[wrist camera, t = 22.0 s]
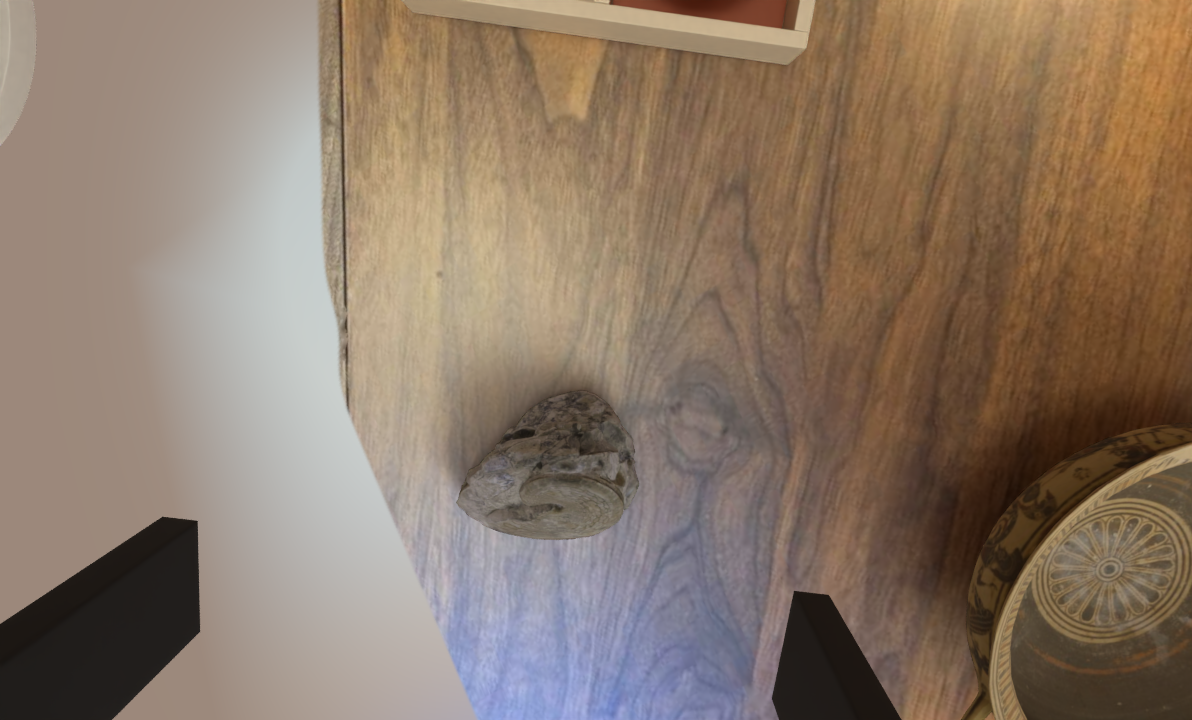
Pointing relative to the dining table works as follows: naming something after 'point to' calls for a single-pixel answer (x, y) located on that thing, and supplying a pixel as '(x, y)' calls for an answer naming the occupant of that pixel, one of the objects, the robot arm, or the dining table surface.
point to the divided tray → (654, 22)
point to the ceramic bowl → (1090, 588)
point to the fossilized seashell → (555, 472)
